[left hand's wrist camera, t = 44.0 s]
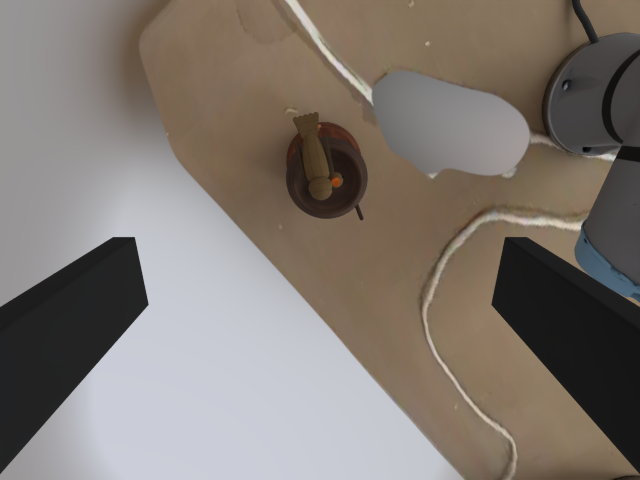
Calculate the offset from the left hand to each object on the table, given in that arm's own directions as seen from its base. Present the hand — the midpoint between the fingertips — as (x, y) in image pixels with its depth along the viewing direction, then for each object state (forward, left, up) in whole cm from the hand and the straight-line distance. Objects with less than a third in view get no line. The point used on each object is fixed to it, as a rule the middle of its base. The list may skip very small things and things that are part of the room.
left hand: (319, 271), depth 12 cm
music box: (+2, 0, -41) cm, 41 cm away
